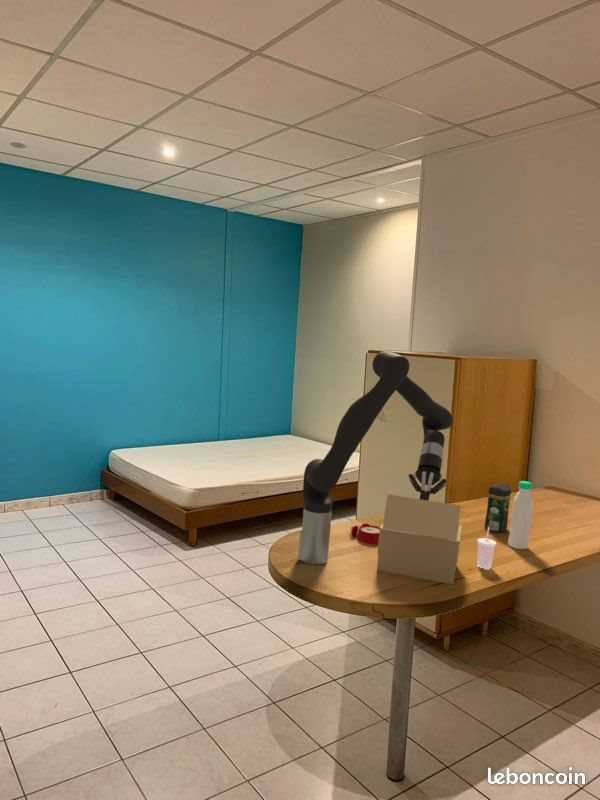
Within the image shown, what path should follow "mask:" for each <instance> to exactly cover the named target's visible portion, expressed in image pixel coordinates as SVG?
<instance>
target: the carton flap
mask: <svg viewBox="0 0 600 800" xmlns="http://www.w3.org/2000/svg"><path fill="white" fill-rule="evenodd" d="M461 506H462V505H459V504H452V503H447V502H441V501H440V502H439V501H432V500H429V501H427V500H421V499H420V498H413V497H409V496H408V497H406V496H400V495H393V494H387V497H386V502H385V510H384V515H383V523H382V524H383V529H388V530H394V531H400V532H406V533H412V534H418V535H424V536H430V537H435V538H441V539H447V540H453V541H457V532H458V524H459V522H460V514H461Z"/></svg>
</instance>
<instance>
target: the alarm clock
mask: <svg viewBox="0 0 600 800" xmlns="http://www.w3.org/2000/svg"><path fill="white" fill-rule="evenodd" d="M380 527H381V526H380ZM380 527H379V526H376V525H371V524H369V523H366V522H365V523H363V524H361V526H360V525H359V526H358V525H354V526H351V527H350V534H351V536H352V537H353V538H354V536H356V537H355V538H356V540H357V541H359V542H361V543H364V544H370V545H378V543H379V532H380Z"/></svg>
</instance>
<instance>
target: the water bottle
mask: <svg viewBox="0 0 600 800" xmlns="http://www.w3.org/2000/svg"><path fill="white" fill-rule="evenodd" d="M532 489H533V483H532V482H530V481H526V480H520V481H518V492H516V495H515V496H514V498H513V499H512V501H513V505H512V510H511V518H510V527H509V536H508V542H507V544H508V546H509V547H511V548H513V549H516V550H526V549H528V548H529V537H530V532H531V531H530V530H531V529H530V528H531V523H532V518H533V505H534V499H533V497H532V494H531V491H532Z"/></svg>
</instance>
